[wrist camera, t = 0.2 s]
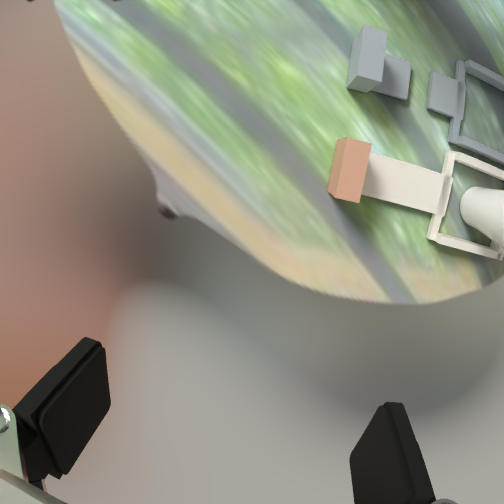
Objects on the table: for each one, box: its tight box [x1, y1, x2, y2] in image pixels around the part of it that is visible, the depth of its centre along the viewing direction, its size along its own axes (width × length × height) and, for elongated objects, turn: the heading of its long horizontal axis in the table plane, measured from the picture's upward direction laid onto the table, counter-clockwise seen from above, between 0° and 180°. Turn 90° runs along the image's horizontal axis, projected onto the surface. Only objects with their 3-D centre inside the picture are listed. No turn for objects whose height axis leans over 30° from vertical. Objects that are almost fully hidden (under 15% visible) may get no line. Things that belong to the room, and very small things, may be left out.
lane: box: [327, 138, 504, 261], centre depth 32 cm, size 11×26×6 cm, turn 80°
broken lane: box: [346, 25, 504, 165], centre depth 28 cm, size 11×26×6 cm, turn 80°
